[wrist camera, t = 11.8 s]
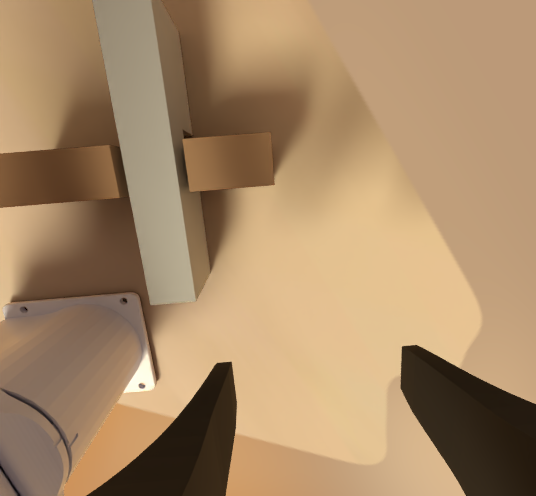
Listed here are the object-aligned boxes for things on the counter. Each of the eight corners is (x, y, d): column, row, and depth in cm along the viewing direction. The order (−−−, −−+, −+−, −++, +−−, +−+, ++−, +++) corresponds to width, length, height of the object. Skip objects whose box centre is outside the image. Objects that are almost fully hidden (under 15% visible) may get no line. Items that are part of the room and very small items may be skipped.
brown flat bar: (60, 200, 19) (-7, 208, 14) (51, 161, 18) (-23, 155, 14) (270, 183, 19) (274, 184, 14) (267, 143, 19) (270, 132, 14)
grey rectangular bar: (210, 272, 21) (195, 301, 16) (175, 275, 21) (150, 305, 16) (178, 32, 17) (147, -26, 12) (136, 35, 17) (88, -22, 12)
